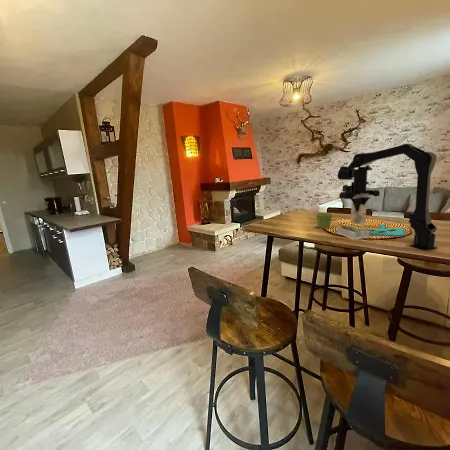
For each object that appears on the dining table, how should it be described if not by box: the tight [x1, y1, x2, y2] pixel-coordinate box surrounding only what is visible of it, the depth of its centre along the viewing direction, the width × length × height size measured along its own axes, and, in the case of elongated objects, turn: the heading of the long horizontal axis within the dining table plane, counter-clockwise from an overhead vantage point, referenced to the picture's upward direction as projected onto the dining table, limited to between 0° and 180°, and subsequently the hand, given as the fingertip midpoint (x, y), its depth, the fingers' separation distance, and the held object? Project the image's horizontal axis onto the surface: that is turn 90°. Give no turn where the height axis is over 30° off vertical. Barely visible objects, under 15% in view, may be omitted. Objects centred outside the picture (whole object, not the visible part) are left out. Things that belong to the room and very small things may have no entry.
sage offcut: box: [350, 226, 360, 237], centre depth 128 cm, size 6×1×4 cm, turn 11°
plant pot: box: [315, 212, 334, 229], centre depth 148 cm, size 9×9×9 cm
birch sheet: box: [350, 202, 367, 226], centre depth 128 cm, size 9×1×10 cm, turn 12°
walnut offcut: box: [340, 225, 351, 231], centre depth 131 cm, size 6×1×4 cm, turn 11°
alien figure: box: [360, 223, 407, 238], centre depth 133 cm, size 20×2×20 cm
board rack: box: [334, 224, 371, 240], centre depth 130 cm, size 14×10×4 cm
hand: (358, 211), depth 128 cm, fingers closed on birch sheet, 1 cm apart
